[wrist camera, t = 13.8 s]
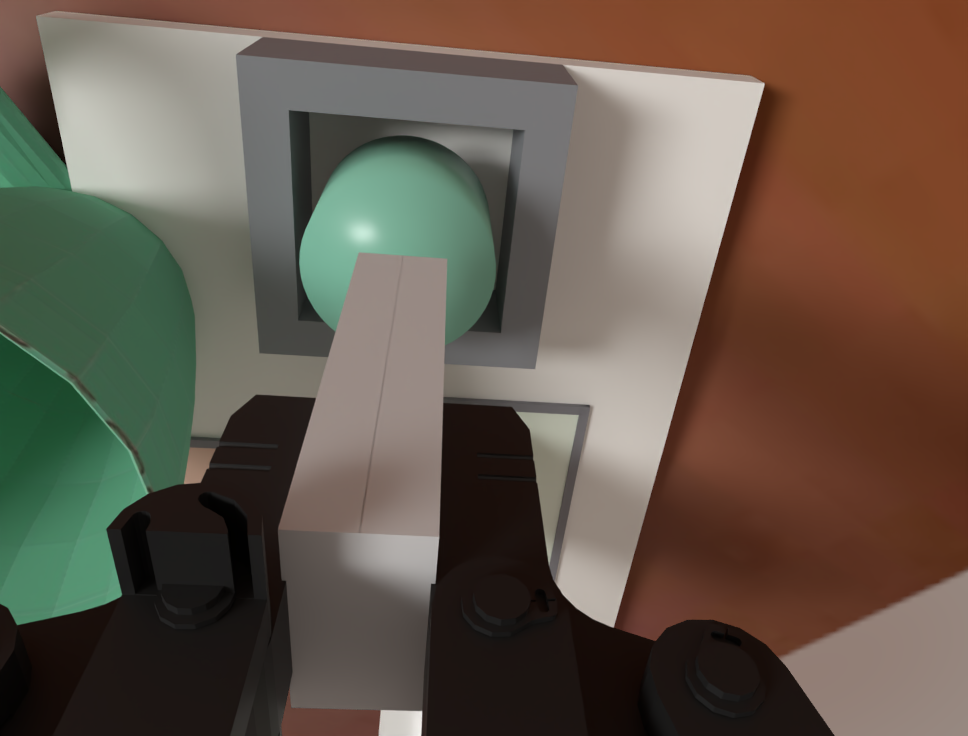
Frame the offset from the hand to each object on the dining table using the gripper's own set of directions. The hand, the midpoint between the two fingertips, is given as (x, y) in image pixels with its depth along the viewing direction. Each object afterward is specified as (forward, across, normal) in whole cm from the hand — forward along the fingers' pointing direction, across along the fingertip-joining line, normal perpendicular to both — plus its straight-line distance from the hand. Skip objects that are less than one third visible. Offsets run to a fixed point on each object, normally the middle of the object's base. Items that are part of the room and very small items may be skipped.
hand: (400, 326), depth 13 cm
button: (+5, 0, 0) cm, 5 cm away
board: (+8, 0, -8) cm, 12 cm away
